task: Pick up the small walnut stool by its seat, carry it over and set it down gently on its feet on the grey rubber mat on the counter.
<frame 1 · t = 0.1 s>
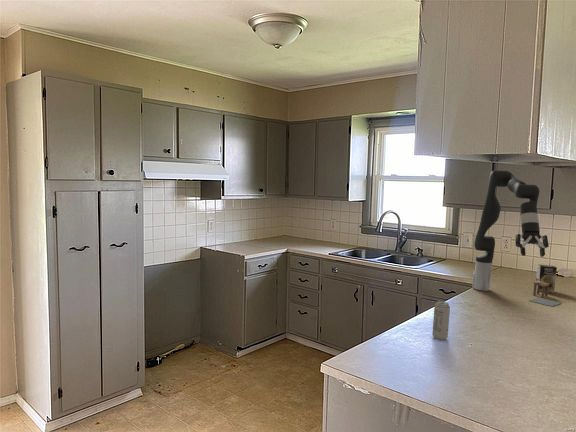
hand: (533, 256, 201), 31 cm above the worktop, tool tilted 20°, fingers open, 8 cm apart
mat: (544, 302, 236), on the worktop
stool: (540, 295, 250), on the worktop
energy drink can: (439, 338, 175), on the worktop
coffee box: (544, 291, 262), on the worktop
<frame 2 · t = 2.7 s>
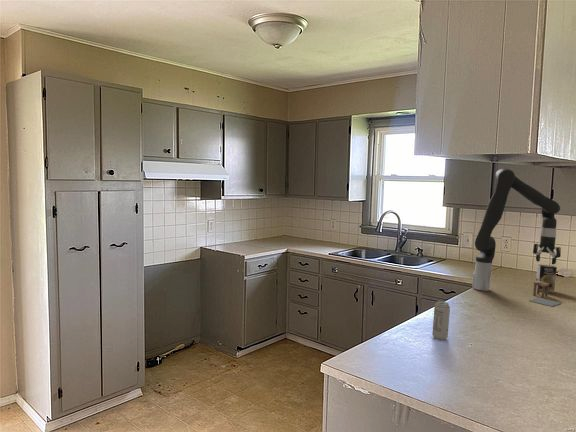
hand: (545, 262, 247), 20 cm above the worktop, tool pointing down, fingers open, 8 cm apart
nothing on the worktop moved.
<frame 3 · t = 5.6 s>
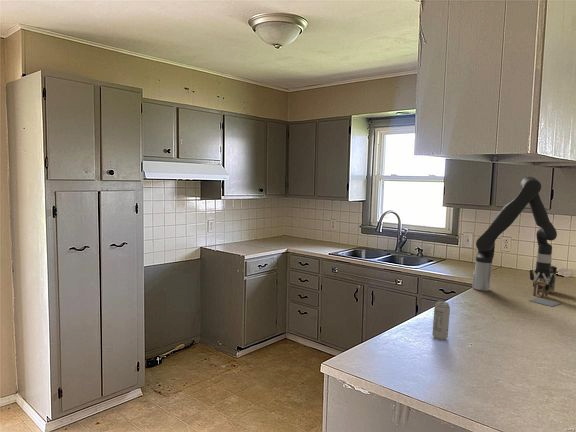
hand: (541, 289, 250), 4 cm above the worktop, tool pointing down, fingers closed on stool, 6 cm apart
stool: (540, 295, 250), on the worktop, touching gripper
everything else where it was.
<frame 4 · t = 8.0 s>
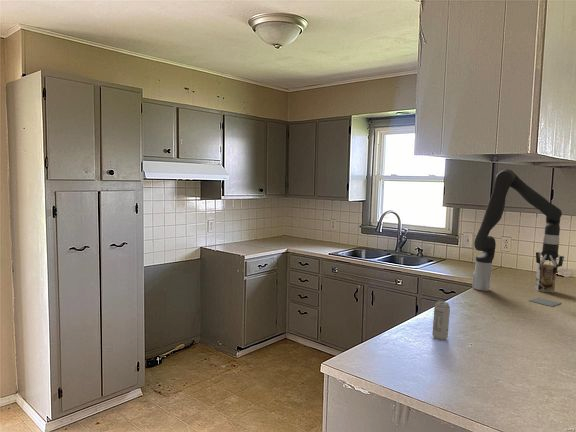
hand: (548, 272, 235), 17 cm above the worktop, tool pointing down, fingers closed on stool, 6 cm apart
stool: (547, 279, 235), point 13 cm above the worktop, touching gripper
everything else where it was.
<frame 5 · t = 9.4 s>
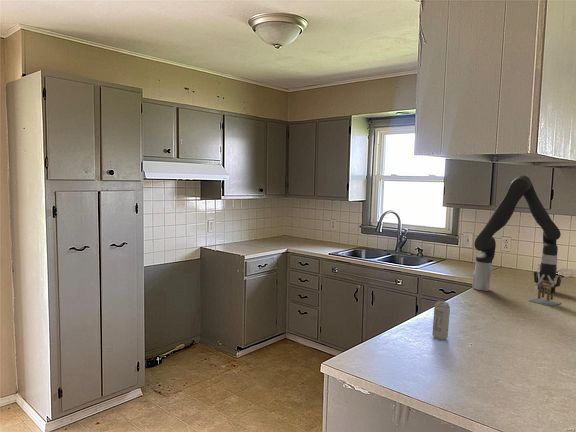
hand: (546, 291, 235), 6 cm above the worktop, tool pointing down, fingers closed on stool, 6 cm apart
stool: (545, 299, 236), point 2 cm above the worktop, touching gripper
everything else where it was.
when the fingers open (5 cm above the worktop, at t = 10.5 s): stool stays where it is, resting on mat.
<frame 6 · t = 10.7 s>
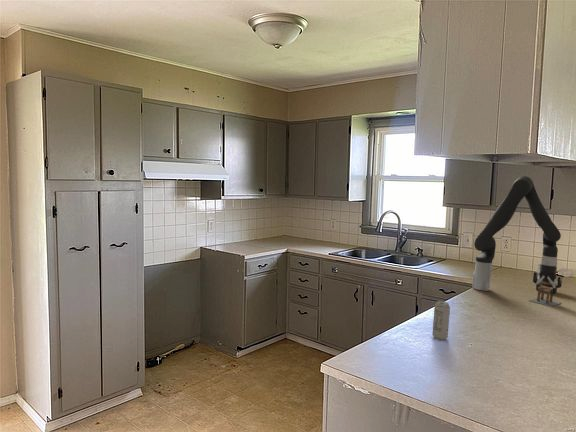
hand: (545, 292, 236), 6 cm above the worktop, tool pointing down, fingers open, 7 cm apart
stool: (544, 301, 236), resting on mat
everything else where it was.
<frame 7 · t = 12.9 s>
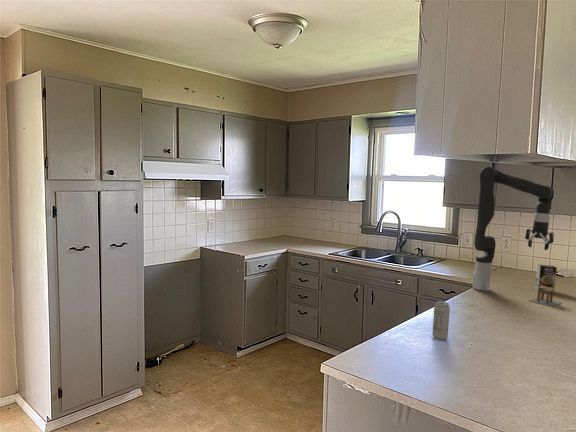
hand: (537, 248, 243), 29 cm above the worktop, tool pointing down, fingers open, 8 cm apart
nothing on the worktop moved.
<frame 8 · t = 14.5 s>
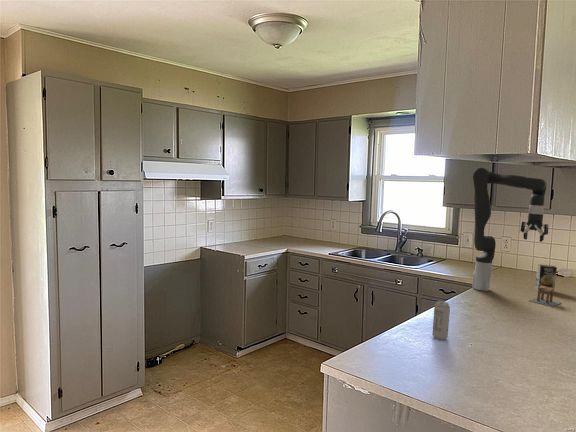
hand: (533, 240, 246), 33 cm above the worktop, tool pointing down, fingers open, 8 cm apart
nothing on the worktop moved.
at the end: stool inside the target area on the mat (0.2 cm from its centre), point 0.4 cm above the mat's base; stool tilted 0°; the gripper is holding nothing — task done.
